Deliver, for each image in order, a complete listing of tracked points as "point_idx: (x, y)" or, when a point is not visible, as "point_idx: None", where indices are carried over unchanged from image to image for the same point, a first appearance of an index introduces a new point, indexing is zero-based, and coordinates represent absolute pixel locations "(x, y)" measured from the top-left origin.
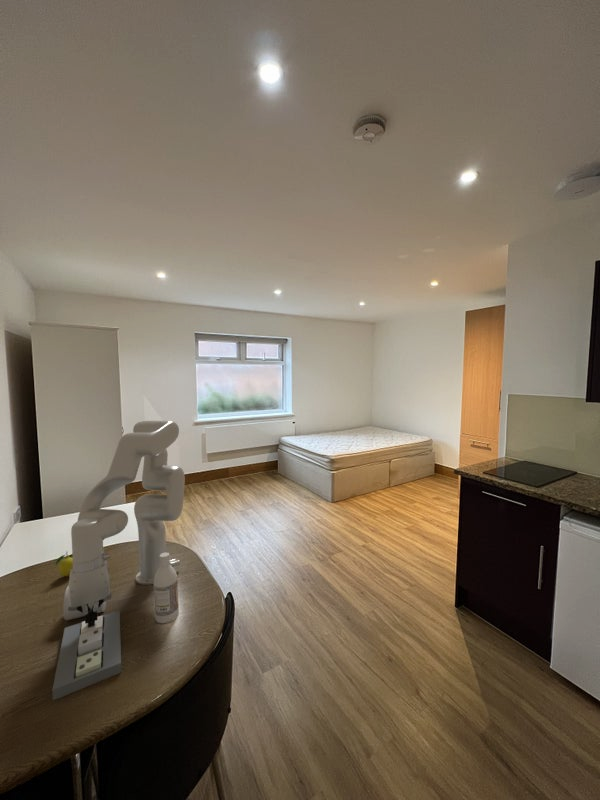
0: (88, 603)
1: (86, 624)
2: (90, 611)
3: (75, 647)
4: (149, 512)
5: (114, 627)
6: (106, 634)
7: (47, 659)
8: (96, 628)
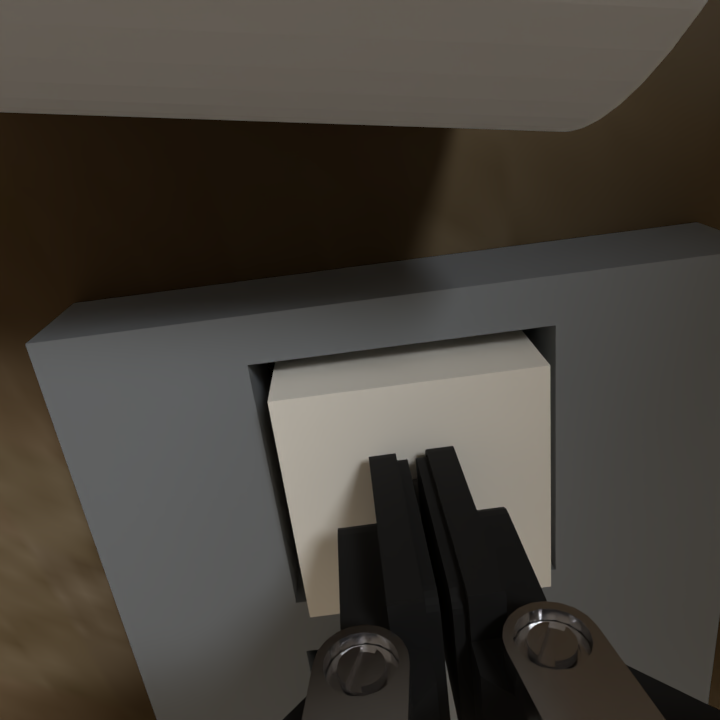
0: (295, 116)
1: (344, 485)
2: (445, 694)
3: None
4: None
5: (667, 586)
6: None
7: (42, 584)
8: None
